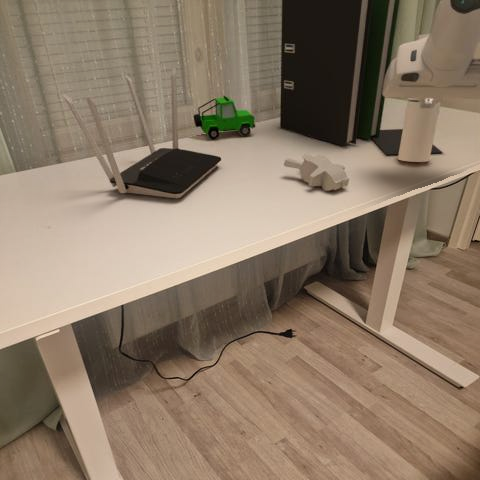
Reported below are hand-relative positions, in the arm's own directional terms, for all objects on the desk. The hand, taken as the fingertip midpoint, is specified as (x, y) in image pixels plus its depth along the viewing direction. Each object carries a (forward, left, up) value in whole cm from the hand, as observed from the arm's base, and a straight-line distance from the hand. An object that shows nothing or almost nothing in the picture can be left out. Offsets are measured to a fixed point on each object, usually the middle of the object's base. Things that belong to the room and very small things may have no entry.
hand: (426, 105), depth 93 cm
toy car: (+45, -31, -13) cm, 57 cm away
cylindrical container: (-1, -2, -13) cm, 13 cm away
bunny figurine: (+24, +9, -13) cm, 29 cm away
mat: (-3, -18, -13) cm, 22 cm away
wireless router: (+60, +3, -13) cm, 62 cm away
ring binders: (+15, -29, -13) cm, 35 cm away
